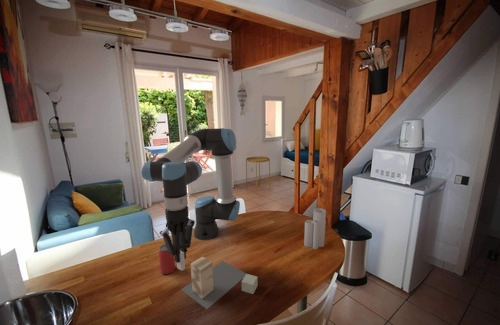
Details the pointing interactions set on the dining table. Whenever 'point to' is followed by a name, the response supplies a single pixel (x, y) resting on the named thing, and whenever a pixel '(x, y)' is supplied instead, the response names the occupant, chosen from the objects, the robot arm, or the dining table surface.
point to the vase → (315, 229)
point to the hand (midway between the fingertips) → (181, 268)
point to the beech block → (202, 277)
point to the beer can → (166, 260)
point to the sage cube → (249, 283)
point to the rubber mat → (218, 284)
